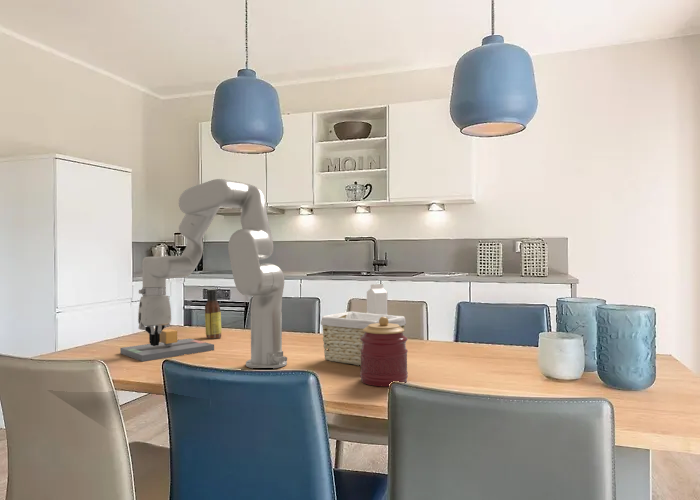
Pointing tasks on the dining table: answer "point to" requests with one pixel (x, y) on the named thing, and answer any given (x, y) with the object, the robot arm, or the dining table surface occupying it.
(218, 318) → the sauce bottle
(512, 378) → the dining table surface
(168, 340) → the switch knob
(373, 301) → the milk
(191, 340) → the switch board
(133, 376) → the dining table surface
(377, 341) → the canister
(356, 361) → the storage basket
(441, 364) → the dining table surface
